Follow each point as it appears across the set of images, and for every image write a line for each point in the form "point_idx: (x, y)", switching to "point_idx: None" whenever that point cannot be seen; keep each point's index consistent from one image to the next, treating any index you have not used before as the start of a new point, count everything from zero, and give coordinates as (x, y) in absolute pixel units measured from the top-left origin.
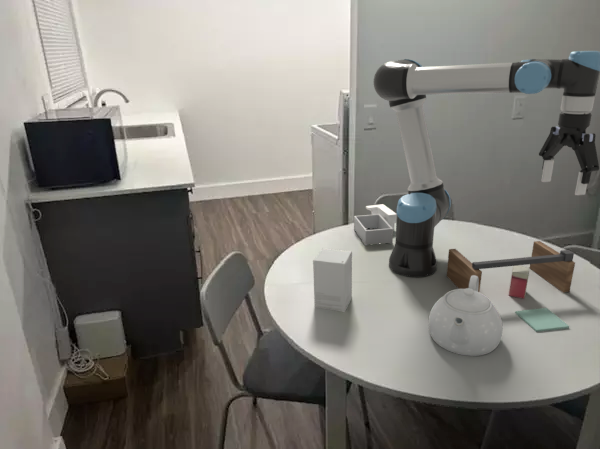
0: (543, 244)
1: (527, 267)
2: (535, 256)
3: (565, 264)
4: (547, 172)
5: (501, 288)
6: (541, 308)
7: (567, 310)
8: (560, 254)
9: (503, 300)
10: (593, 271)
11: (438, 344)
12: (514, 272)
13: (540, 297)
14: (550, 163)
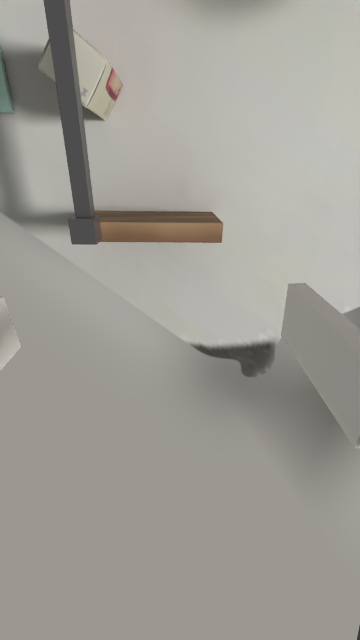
0: (197, 237)
1: (83, 97)
2: (78, 119)
3: None
4: (311, 337)
5: (126, 57)
6: (6, 95)
7: (13, 165)
8: (88, 213)
9: None
10: (169, 328)
11: None
12: None
13: None
14: (345, 396)
